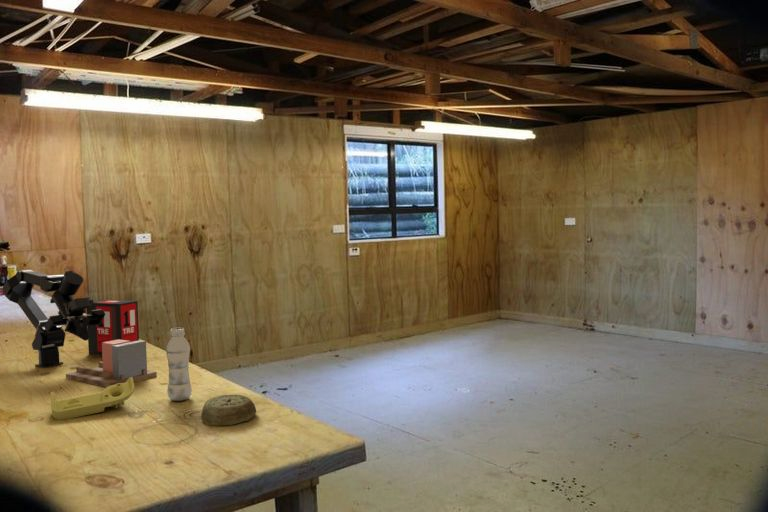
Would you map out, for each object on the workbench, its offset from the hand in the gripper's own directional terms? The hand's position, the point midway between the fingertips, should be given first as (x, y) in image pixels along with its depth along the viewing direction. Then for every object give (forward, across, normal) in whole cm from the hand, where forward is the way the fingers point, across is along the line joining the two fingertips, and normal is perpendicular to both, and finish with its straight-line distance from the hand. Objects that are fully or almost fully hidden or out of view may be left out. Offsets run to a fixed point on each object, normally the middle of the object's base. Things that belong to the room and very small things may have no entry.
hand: (86, 339), depth 201 cm
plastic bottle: (+45, -6, -30) cm, 55 cm away
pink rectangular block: (+18, 0, -5) cm, 18 cm away
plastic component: (+36, -24, -21) cm, 48 cm away
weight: (+62, -11, -47) cm, 79 cm away
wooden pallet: (+17, 0, -1) cm, 17 cm away
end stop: (+23, 0, -9) cm, 25 cm away
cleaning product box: (-6, +24, +23) cm, 33 cm away
